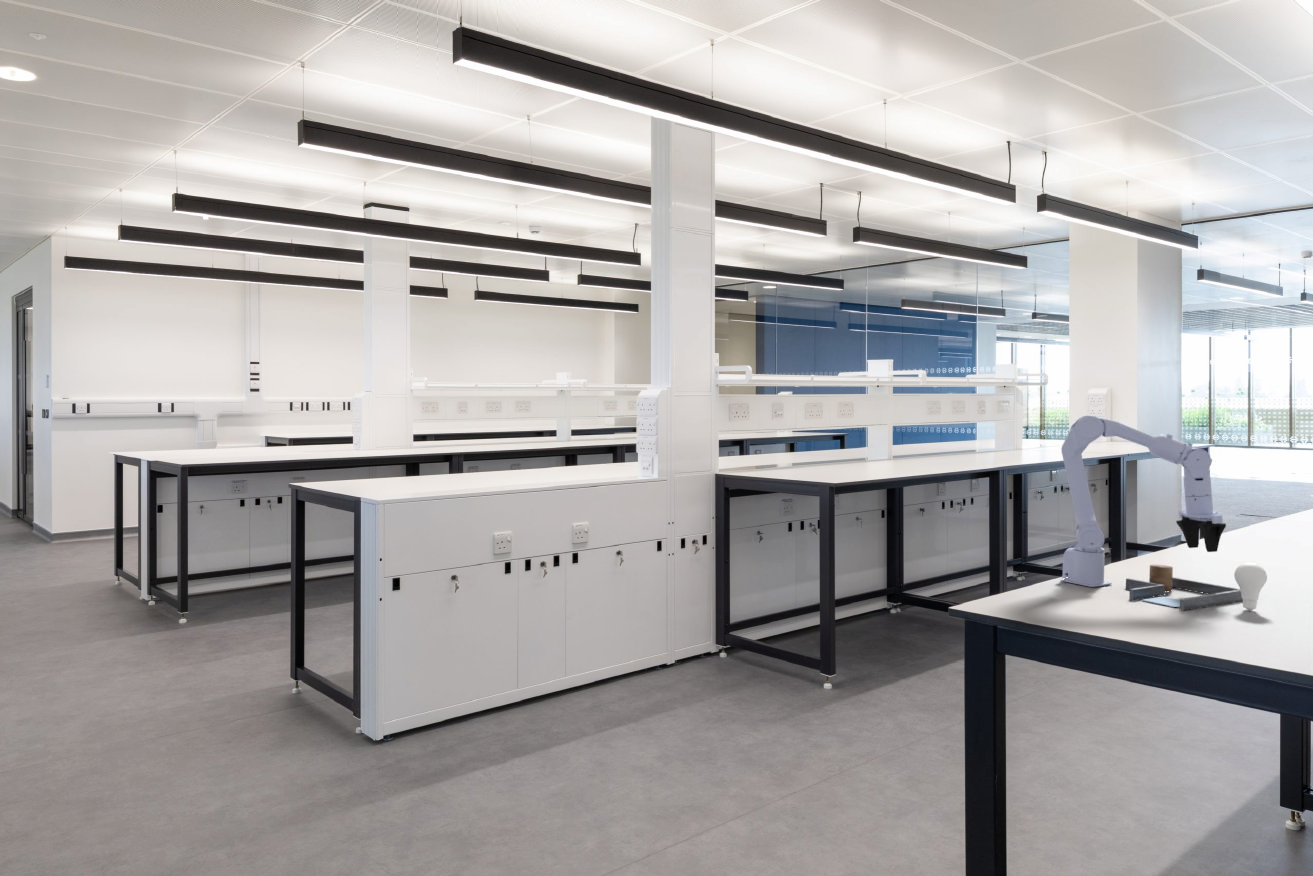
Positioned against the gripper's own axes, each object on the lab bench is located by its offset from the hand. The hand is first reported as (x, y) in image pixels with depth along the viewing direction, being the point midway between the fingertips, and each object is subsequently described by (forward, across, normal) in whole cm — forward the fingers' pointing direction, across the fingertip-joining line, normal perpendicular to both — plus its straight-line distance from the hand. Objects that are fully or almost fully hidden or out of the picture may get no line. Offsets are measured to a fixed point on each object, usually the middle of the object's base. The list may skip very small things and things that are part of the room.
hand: (1202, 549), depth 212 cm
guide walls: (+10, -4, +12) cm, 16 cm away
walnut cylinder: (+10, +3, +9) cm, 14 cm away
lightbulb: (+12, -19, +2) cm, 22 cm away
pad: (+10, -12, +16) cm, 22 cm away
